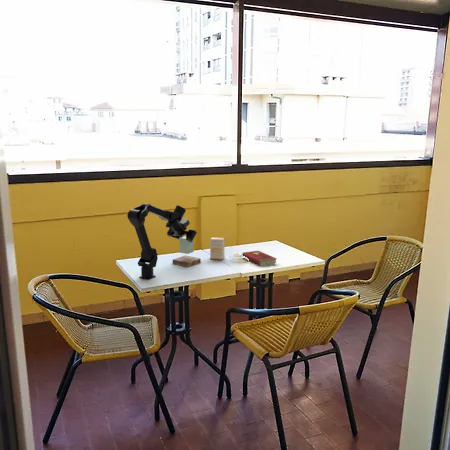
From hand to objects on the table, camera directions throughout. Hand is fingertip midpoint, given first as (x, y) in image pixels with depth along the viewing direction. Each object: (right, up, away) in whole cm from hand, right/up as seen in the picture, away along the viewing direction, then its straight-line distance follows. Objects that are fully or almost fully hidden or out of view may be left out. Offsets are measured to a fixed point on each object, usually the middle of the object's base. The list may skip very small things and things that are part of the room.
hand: (187, 241), depth 275 cm
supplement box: (+17, -12, +12) cm, 24 cm away
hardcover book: (+43, -13, +8) cm, 46 cm away
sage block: (-1, -7, 0) cm, 7 cm away
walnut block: (-1, -14, +2) cm, 14 cm away
